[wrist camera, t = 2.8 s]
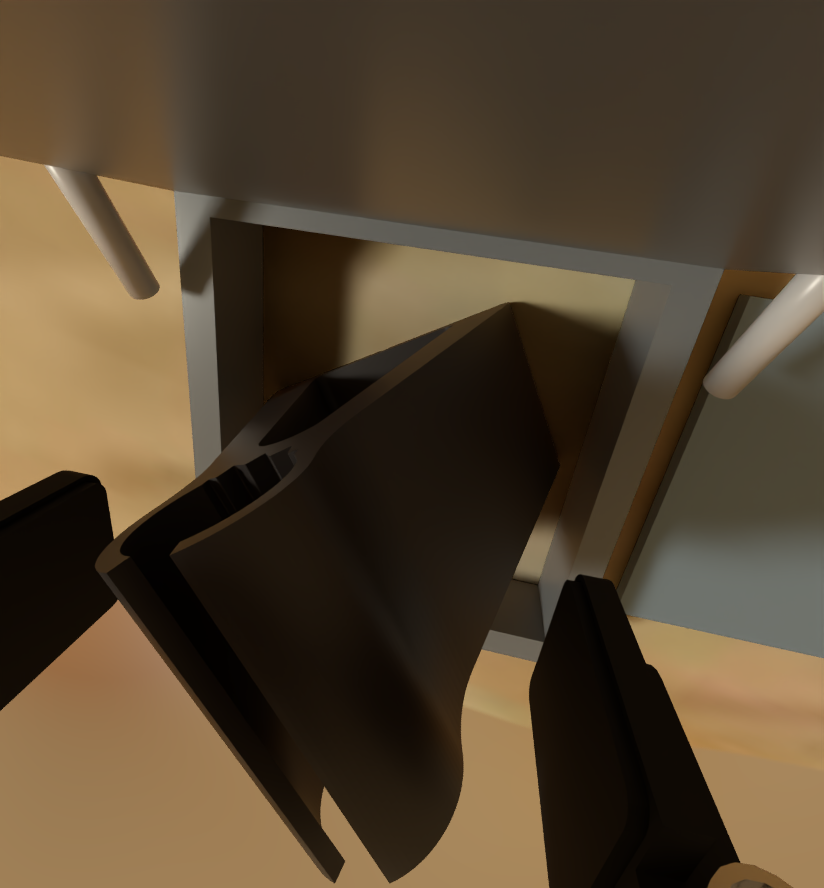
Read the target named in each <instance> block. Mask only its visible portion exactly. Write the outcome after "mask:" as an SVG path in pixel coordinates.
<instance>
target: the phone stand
mask: <svg viewBox="0 0 824 888" xmlns="http://www.w3.org/2000/svg"><path fill="white" fill-rule="evenodd" d="M559 468H560V463H559V460H558V456H557V453H556V450H555V447H554V444H553V440H552V437H551V434H550V431H549V428H548V424H547V421H546V418H545V415H544V412H543V408H542V405H541V402H540V399H539V396H538V392H537V389H536V386H535V383H534V380H533V376H532V373H531V370H530V367H529V364H528V360H527V357H526V354H525V351H524V348H523V344H522V341H521V338H520V335H519V332H518V328H517V325H516V322H515V319H514V316H513V312H512V309H511V306H510V303H509V302H507V303H504V304H501V305H498V306H496V307H493V308H491V309H488V310H485V311H483V312H480V313H478V314H475V315H472V316H470V317H467V318H465V319H462V320H460V321H457V322H454V323H452V324H449V325H447V326H444V327H442V328H439V329H436V330H434V331H431V332H429V333H426V334H424V335H421V336H418V337H416V338H413V339H411V340H408V341H405V342H403V343H400V344H398V345H395V346H393V347H390V348H388V349H386V350H384V351H381V352H377V353H375V354H372V355H369V356H367V357H364V358H362V359H359V360H356V361H354V362H351V363H349V364H346V365H344V366H341V367H338V368H336V369H333V370H331V371H328V372H326V373H323V374H320V375H318V376H315V377H313V378H310V379H308V380H305V381H302V382H300V383H297V384H295V385H292V386H289V387H287V388H284V389H282V390H280V391H278V392H276V393H275V394H274V395H273V396H272V397H271V398H270V399H269V400H268V401H267V402H266V404H265V405H264V406H263V407H262V408H261V409H260V410H259V411H258V413H257V414H256V415H255V416H254V417H253V418H252V419H251V420H250V421H249V423H248V424H247V425H246V426H245V427H244V428H243V429H242V430H241V431H240V433H239V434H238V435H237V436H236V437H235V438H234V439H233V440H232V441H231V443H230V444H229V445H228V446H227V447H226V448H225V449H224V450H223V451H222V453H221V454H220V455H219V456H218V457H217V458H216V459H215V460H214V462H213V463H212V464H211V465H210V466H209V467H208V468H207V469H206V470H205V471H204V472H203V473H202V474H201V475H199V476H198V477H197V478H196V479H195V480H194V481H192V482H191V483H190V484H188V485H187V486H186V487H185V488H183V489H182V490H181V491H179V492H178V493H177V494H175V495H174V496H172V497H171V498H170V499H168V500H167V501H165V502H164V503H162V504H161V505H160V506H158V507H157V508H155V509H154V510H152V511H151V512H149V513H148V514H146V515H145V516H143V517H142V518H141V519H139V520H138V521H136V522H135V523H134V524H132V525H131V526H130V527H128V528H127V529H126V530H125V531H123V532H122V533H121V534H120V535H119V536H118V537H116V538H115V539H114V540H113V541H112V542H111V543H110V544H109V545H108V546H107V547H106V548H105V549H104V550H103V552H102V553H101V554H100V555H99V557H98V559H97V561H96V563H95V568H96V570H97V571H98V573H99V574H100V575H101V577H102V578H103V580H104V581H105V582H106V584H107V585H108V586H109V588H110V589H111V590H112V592H113V593H114V594H115V596H116V597H117V598H118V600H119V601H120V602H121V604H122V605H123V606H124V608H125V609H126V610H127V612H128V613H129V615H130V616H131V617H132V619H133V620H134V621H135V623H136V624H137V625H138V627H139V628H140V629H141V631H142V632H143V633H144V634H145V636H146V637H147V639H148V640H149V641H150V643H151V644H152V645H153V647H154V648H155V649H156V651H157V652H158V653H159V655H160V656H161V658H162V659H163V660H164V662H165V663H166V664H167V666H168V667H169V668H170V670H171V671H172V672H173V674H174V675H175V676H176V678H177V679H178V680H179V682H180V683H181V684H182V686H183V687H184V689H185V690H186V691H187V693H188V694H189V695H190V697H191V698H192V699H193V701H194V702H195V703H196V705H197V706H198V707H199V709H200V710H201V711H202V713H203V714H204V715H205V717H206V718H207V720H208V721H209V722H210V724H211V725H212V726H213V728H214V729H215V730H216V732H217V733H218V734H219V736H220V737H221V738H222V740H223V741H224V742H225V744H226V745H227V746H228V748H229V749H230V750H231V752H232V753H233V755H234V756H235V757H236V759H237V760H238V761H239V763H240V764H241V765H242V767H243V768H244V769H245V771H246V772H247V773H248V775H249V776H250V777H251V778H252V780H253V781H254V783H255V784H256V785H257V787H258V788H259V789H260V791H261V792H262V794H263V795H264V796H265V798H266V799H267V800H268V802H269V803H270V804H271V805H272V807H273V808H274V810H275V811H276V812H277V814H278V815H279V816H280V818H281V819H282V820H283V822H284V823H285V824H286V826H287V827H288V828H289V830H290V831H291V832H292V834H293V835H294V837H295V838H296V839H297V841H298V842H299V843H300V845H301V846H302V847H303V849H304V850H305V851H306V853H307V854H308V855H309V857H310V858H311V859H312V861H313V862H314V864H315V865H316V866H317V868H318V869H319V870H320V871H321V873H322V874H323V875H324V876H325V877H326V878H328V879H329V880H330V881H332V882H333V883H335V882H336V880H337V878H338V876H339V873H340V871H341V869H342V867H343V865H344V863H345V860H344V859H343V857H342V856H341V854H340V853H339V852H338V850H337V849H336V847H335V846H334V844H333V843H332V842H331V840H330V839H329V837H328V836H327V835H326V833H325V832H324V830H323V829H322V827H321V819H320V806H321V798H322V793H323V789H324V786H325V788H326V789H327V791H328V792H329V794H330V795H331V797H332V798H333V800H334V801H335V803H336V804H337V806H338V807H339V809H340V810H341V812H342V813H343V815H344V816H345V818H346V819H347V821H348V822H349V824H350V825H351V827H352V828H353V830H354V831H355V833H356V834H357V836H358V837H359V839H360V840H361V841H362V843H363V845H364V846H365V848H366V849H367V851H368V852H369V854H370V855H371V856H372V858H373V859H374V861H375V862H376V864H377V865H378V867H379V868H380V870H381V871H382V873H383V874H384V876H385V877H386V879H387V880H388V882H389V883H391V882H393V881H396V880H398V879H399V878H401V877H403V876H404V875H406V874H407V873H408V872H410V871H411V870H412V869H414V868H415V867H416V866H417V865H418V864H419V863H420V862H421V861H422V860H424V859H425V857H426V856H427V855H428V854H429V853H430V852H431V851H432V849H433V848H434V847H435V846H436V844H437V843H438V841H439V840H440V838H441V837H442V835H443V834H444V832H445V830H446V829H447V827H448V825H449V823H450V821H451V818H452V816H453V814H454V811H455V809H456V806H457V803H458V800H459V796H460V792H461V787H462V780H463V753H462V744H461V714H462V706H463V700H464V695H465V691H466V687H467V684H468V681H469V678H470V675H471V673H472V670H473V668H474V665H475V663H476V661H477V658H478V656H479V654H480V651H481V649H482V647H483V644H484V642H485V640H486V638H487V635H488V633H489V631H490V628H491V626H492V624H493V621H494V619H495V617H496V614H497V612H498V610H499V607H500V605H501V603H502V600H503V598H504V596H505V593H506V591H507V589H508V586H509V584H510V582H511V579H512V577H513V575H514V572H515V570H516V568H517V565H518V563H519V561H520V558H521V556H522V554H523V551H524V549H525V547H526V544H527V542H528V540H529V537H530V535H531V533H532V530H533V528H534V526H535V523H536V521H537V519H538V516H539V514H540V512H541V510H542V507H543V505H544V503H545V500H546V498H547V496H548V493H549V491H550V489H551V486H552V484H553V482H554V479H555V477H556V475H557V472H558V470H559Z"/></svg>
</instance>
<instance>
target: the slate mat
mask: <svg viewBox="0 0 824 888" xmlns="http://www.w3.org/2000/svg"><path fill="white" fill-rule="evenodd" d="M773 300H774V299H767V298H760V297H754V296H747V295H740V296H739V298H738V300H737V303H736V305H735V308H734V310H733V312H732V315H731V317H730V320H729V322H728V324H727V327H726V329H725V332H724V334H723V336H722V339H721V341H720V344H719V346H718V348H717V351H716V353H715V356H714V358H713V360H712V363H711V365H710V368H709V370H708V372H707V374H708V373H709V372H710V370H711V369H712V368H713V367H714V366H715V365H716V364H717V363H718V361H719V360H720V359H721V358H722V357H723V356H724V355H725V354H726V352H727V351H728V350H729V349H730V348H731V347H732V346H733V345H734V343H735V342H736V341H737V340H738V339H739V338H740V337H741V336H742V334H743V333H744V332H745V331H746V330H747V329H748V328H749V327H750V325H751V324H752V323H753V322H754V321H755V320H756V319H757V318H758V316H759V315H760V314H761V313H762V312H763V311H764V310H765V309H766V307H767V306H768V305H769V304H770V303H771V302H772V301H773ZM617 594H618V596H619V598H620V601H621V603H622V606H623V608H624V611H625V613H626V615H630V616H635V617H639V618H644V619H649V620H653V621H658V622H662V623H667V624H671V625H676V626H680V627H685V628H689V629H694V630H698V631H703V632H707V633H712V634H716V635H721V636H726V637H730V638H735V639H739V640H744V641H748V642H753V643H757V644H762V645H766V646H771V647H775V648H780V649H784V650H789V651H794V652H798V653H803V654H807V655H812V656H816V657H821V658H824V312H823V313H822V314H821V315H820V316H819V317H818V318H817V319H816V320H814V321H813V322H812V323H811V324H810V325H809V326H808V327H807V328H806V329H805V330H804V331H803V332H802V333H801V334H800V335H799V336H798V337H797V338H796V339H795V340H794V341H793V342H792V343H791V344H789V345H788V346H787V347H786V348H785V349H784V350H783V351H782V352H781V353H780V354H779V355H778V356H777V357H776V358H775V359H774V360H773V361H772V362H771V363H770V364H769V365H768V366H767V367H766V368H764V369H763V370H762V371H761V372H760V373H759V374H758V375H757V376H756V377H755V378H754V379H753V380H752V381H751V382H750V383H749V384H748V385H747V386H746V387H745V388H744V389H743V390H742V391H741V392H739V393H738V394H737V395H736V396H735V397H734V398H732V399H721V398H718V397H715V396H713V395H712V394H710V393H709V392H708V391H707V390H706V389H705V387H704V385H703V384H702V387H701V389H700V392H699V394H698V396H697V399H696V401H695V404H694V406H693V408H692V411H691V413H690V416H689V418H688V420H687V423H686V425H685V428H684V430H683V432H682V435H681V437H680V440H679V442H678V444H677V447H676V449H675V452H674V454H673V456H672V459H671V461H670V464H669V466H668V468H667V471H666V473H665V475H664V478H663V480H662V483H661V485H660V487H659V490H658V492H657V495H656V497H655V499H654V502H653V504H652V507H651V509H650V511H649V514H648V516H647V519H646V521H645V523H644V526H643V528H642V531H641V533H640V535H639V538H638V540H637V543H636V545H635V547H634V550H633V552H632V555H631V557H630V559H629V562H628V564H627V567H626V569H625V571H624V574H623V576H622V579H621V581H620V583H619V586H618V588H617Z"/></svg>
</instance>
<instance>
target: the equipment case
mask: <svg viewBox="0 0 824 888" xmlns="http://www.w3.org/2000/svg"><path fill="white" fill-rule="evenodd" d="M0 156H4V157H9V158H14V159H19V160H24V161H29V162H34V163H38V164H43V165H44V166H45V167H46V169H47V170H48V172H49V173H50V175H51V176H52V178H53V179H54V181H55V182H56V184H57V185H58V187H59V188H60V190H61V191H62V193H63V194H64V196H65V197H66V199H67V201H68V202H69V204H70V205H71V207H72V208H73V210H74V211H75V213H76V214H77V216H78V217H79V219H80V220H81V222H82V223H83V225H84V226H85V228H86V229H87V231H88V232H89V234H90V235H91V237H92V239H93V240H94V242H95V243H96V245H97V246H98V248H99V249H100V251H101V252H102V254H103V255H104V257H105V258H106V260H107V261H108V263H109V264H110V266H111V267H112V269H113V270H114V272H115V273H116V275H117V277H118V278H119V280H120V281H121V283H122V284H123V286H124V287H125V289H126V290H127V292H128V293H129V295H130V296H131V297H132V298H134V299H147V298H150V297H152V296H154V295H155V294H156V293H157V292H158V291H159V288H160V286H159V284H158V282H157V280H156V278H155V277H154V275H153V273H152V271H151V270H150V268H149V266H148V264H147V263H146V261H145V259H144V257H143V256H142V254H141V252H140V250H139V249H138V247H137V245H136V243H135V242H134V240H133V238H132V236H131V235H130V233H129V231H128V230H127V228H126V226H125V224H124V223H123V221H122V219H121V217H120V216H119V214H118V212H117V210H116V209H115V207H114V205H113V203H112V202H111V200H110V198H109V196H108V195H107V193H106V191H105V189H104V188H103V186H102V184H101V182H100V181H99V179H98V177H97V175H98V176H103V177H108V178H113V179H117V180H122V181H127V182H132V183H137V184H142V185H147V186H152V187H157V188H162V189H167V190H172V191H174V197H175V211H176V224H177V237H178V250H179V263H180V277H181V290H182V303H183V316H184V330H185V343H186V356H187V369H188V382H189V396H190V409H191V422H192V435H193V449H194V462H195V475H196V478H197V477H198V476H199V475H201V474H202V473H203V472H204V471H205V470H206V469H207V468H208V467H209V466H210V465H211V464H212V463H213V462H214V460H215V459H216V458H217V457H218V456H219V455H220V454H221V453H222V451H223V450H224V449H225V448H226V447H227V446H228V445H229V444H230V443H231V441H232V440H233V439H234V438H235V437H236V436H237V435H238V434H239V433H240V431H241V430H242V429H243V428H244V427H245V426H246V425H247V424H248V423H249V421H250V420H251V419H252V418H253V417H254V416H255V415H256V414H257V413H258V411H259V410H260V409H261V408H262V407H263V225H268V226H275V227H281V228H288V229H295V230H302V231H308V232H315V233H322V234H329V235H336V236H342V237H349V238H356V239H363V240H369V241H376V242H383V243H390V244H397V245H403V246H410V247H417V248H424V249H430V250H437V251H444V252H451V253H458V254H464V255H471V256H478V257H485V258H491V259H498V260H505V261H512V262H519V263H525V264H532V265H539V266H546V267H552V268H559V269H566V270H573V271H580V272H586V273H593V274H600V275H607V276H613V277H620V278H627V279H634V280H636V281H635V284H634V287H633V290H632V293H631V297H630V300H629V303H628V306H627V309H626V312H625V315H624V318H623V321H622V325H621V328H620V331H619V334H618V337H617V340H616V343H615V346H614V349H613V353H612V356H611V359H610V362H609V365H608V368H607V371H606V374H605V378H604V381H603V384H602V387H601V390H600V393H599V396H598V399H597V402H596V406H595V409H594V412H593V415H592V418H591V421H590V424H589V427H588V431H587V434H586V437H585V440H584V443H583V446H582V449H581V452H580V455H579V459H578V462H577V465H576V468H575V471H574V474H573V477H572V480H571V484H570V487H569V490H568V493H567V496H566V499H565V502H564V505H563V508H562V512H561V515H560V518H559V521H558V524H557V527H556V530H555V533H554V537H553V540H552V543H551V546H550V549H549V552H548V555H547V558H546V561H545V565H544V568H543V571H542V574H541V577H540V580H539V583H538V585H534V584H530V583H525V582H520V581H516V580H511V582H510V584H509V586H508V589H507V591H506V593H505V596H504V598H503V600H502V603H501V605H500V607H499V610H498V612H497V614H496V617H495V619H494V621H493V624H492V626H491V628H490V631H489V633H488V635H487V638H486V640H485V642H484V644H483V647H482V649H483V650H487V651H491V652H495V653H500V654H504V655H508V656H512V657H517V658H521V659H525V660H529V661H534V662H537V660H538V657H539V654H540V651H541V648H542V645H543V643H544V640H545V637H546V634H547V631H548V628H549V625H550V622H551V619H552V616H553V614H554V611H555V608H556V605H557V602H558V599H559V596H560V593H561V590H562V587H563V585H564V582H565V581H566V580H572V581H574V580H575V578H576V576H577V575H579V574H582V575H587V576H592V577H597V578H603V576H604V573H605V570H606V568H607V565H608V563H609V560H610V558H611V555H612V553H613V550H614V548H615V545H616V543H617V540H618V537H619V535H620V532H621V530H622V527H623V525H624V522H625V520H626V517H627V515H628V512H629V510H630V507H631V504H632V502H633V499H634V497H635V494H636V492H637V489H638V487H639V484H640V482H641V479H642V477H643V474H644V471H645V469H646V466H647V464H648V461H649V459H650V456H651V454H652V451H653V449H654V446H655V444H656V441H657V439H658V436H659V433H660V431H661V428H662V426H663V423H664V421H665V418H666V416H667V413H668V411H669V408H670V406H671V403H672V400H673V398H674V395H675V393H676V390H677V388H678V385H679V383H680V380H681V378H682V375H683V373H684V370H685V367H686V365H687V362H688V360H689V357H690V355H691V352H692V350H693V347H694V345H695V342H696V340H697V337H698V334H699V332H700V329H701V327H702V324H703V322H704V319H705V317H706V314H707V312H708V309H709V307H710V304H711V302H712V299H713V296H714V294H715V291H716V289H717V286H718V284H719V281H720V279H721V276H722V274H723V271H724V269H727V270H743V271H760V272H777V273H794V274H796V275H795V276H794V277H793V278H792V279H791V281H790V282H789V283H788V284H787V285H786V286H785V287H784V288H783V289H782V291H781V292H780V293H779V294H778V295H777V296H776V297H775V298H774V300H773V301H772V302H771V303H770V304H769V305H768V306H767V307H766V309H765V310H764V311H763V312H762V313H761V314H760V315H759V316H758V318H757V319H756V320H755V321H754V322H753V323H752V324H751V325H750V327H749V328H748V329H747V330H746V331H745V332H744V333H743V334H742V336H741V337H740V338H739V339H738V340H737V341H736V342H735V343H734V345H733V346H732V347H731V348H730V349H729V350H728V351H727V352H726V354H725V355H724V356H723V357H722V358H721V359H720V360H719V361H718V363H717V364H716V365H715V366H714V367H713V368H712V369H711V370H710V372H709V373H708V374H707V375H706V376H705V377H704V379H703V385H704V387H705V389H706V390H707V391H708V392H709V393H710V394H712V395H713V396H715V397H718V398H721V399H732V398H734V397H735V396H736V395H737V394H738V393H739V392H741V391H742V390H743V389H744V388H745V387H746V386H747V385H748V384H749V383H750V382H751V381H752V380H753V379H754V378H755V377H756V376H757V375H758V374H759V373H760V372H761V371H762V370H763V369H764V368H766V367H767V366H768V365H769V364H770V363H771V362H772V361H773V360H774V359H775V358H776V357H777V356H778V355H779V354H780V353H781V352H782V351H783V350H784V349H785V348H786V347H787V346H788V345H789V344H791V343H792V342H793V341H794V340H795V339H796V338H797V337H798V336H799V335H800V334H801V333H802V332H803V331H804V330H805V329H806V328H807V327H808V326H809V325H810V324H811V323H812V322H813V321H814V320H816V319H817V318H818V317H819V316H820V315H821V314H822V313H823V312H824V0H0Z"/></svg>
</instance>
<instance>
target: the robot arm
mask: <svg viewBox="0 0 824 888" xmlns="http://www.w3.org/2000/svg"><path fill="white" fill-rule="evenodd" d="M113 540H114V537H113V531H112V525H111V518H110V512H109V506H108V499H107V493H106V490H105V488H104V486H103V485H101V482H100V480H99V479H98V478H97V477H95V476H93V475H88V474H83V473H78V472H73V471H64V470H63V471H60V472H57V473H55V474H53V475H51V476H49V477H47V478H45V479H43V480H41V481H39V482H37V483H35V484H33V485H31V486H29V487H27V488H25V489H23V490H21V491H19V492H17V493H15V494H13V495H11V496H9V497H7V498H5V499H3V500H1V501H0V711H1V710H2V709H3V708H4V707H5V706H6V705H7V704H8V703H9V702H10V701H11V700H12V699H14V698H15V697H16V696H17V694H19V693H20V692H21V691H22V690H23V689H24V688H25V687H26V686H27V685H29V683H30V682H32V681H33V680H34V679H35V678H36V677H37V676H38V675H39V674H40V673H41V672H42V671H44V669H46V668H47V667H48V666H49V665H50V664H51V663H52V662H53V661H54V660H55V659H56V658H57V657H58V656H60V655H61V654H62V653H63V652H64V651H65V650H66V649H67V648H68V647H69V646H70V645H71V644H72V643H73V642H75V641H76V640H77V639H78V638H79V637H80V636H81V635H82V634H83V633H84V632H85V631H86V630H87V629H88V628H89V627H91V626H92V625H93V624H94V623H95V622H96V621H97V620H98V619H99V618H100V617H101V616H102V615H103V614H105V613H106V612H107V611H108V610H109V609H110V608H111V607H112V606H113V605H114V604H115V603H116V601H117V600H118V598H117V597H116V596H115V594H114V593H113V592H112V590H111V589H110V588H109V586H108V585H107V584H106V582H105V581H104V580H103V578H102V577H101V575H100V574H99V573H98V571H97V570H96V568H95V563H96V561H97V559H98V557H99V555H100V554H101V553H102V552H103V550H104V549H105V548H106V547H107V546H108V545H109V544H110V543H111V542H112V541H113ZM529 702H530V711H531V720H532V730H533V739H534V748H535V757H536V767H537V777H538V786H539V795H540V804H541V814H542V823H543V833H544V842H545V852H546V860H547V871H548V879H549V888H793V887H791V886H790V885H789V884H787V883H786V882H785V881H783V880H782V879H781V878H779V877H777V876H776V875H774V874H772V873H769V872H768V871H765V870H763V869H761V868H759V867H757V866H755V865H750V864H743V863H740V861H739V859H738V856H737V854H736V851H735V849H734V847H733V844H732V842H731V840H730V837H729V835H728V833H727V830H726V828H725V826H724V823H723V821H722V819H721V817H720V814H719V812H718V809H717V807H716V805H715V802H714V800H713V798H712V795H711V793H710V791H709V789H708V786H707V784H706V781H705V779H704V777H703V774H702V772H701V770H700V767H699V765H698V763H697V760H696V758H695V756H694V753H693V751H692V749H691V746H690V744H689V742H688V739H687V737H686V735H685V732H684V730H683V728H682V725H681V723H680V721H679V718H678V716H677V714H676V711H675V709H674V707H673V704H672V702H671V700H670V697H669V695H668V693H667V690H666V688H665V686H664V683H663V681H662V679H661V677H660V675H659V673H658V671H657V670H656V669H655V668H654V667H653V666H652V665H649V664H646V663H645V660H644V658H643V655H642V653H641V650H640V648H639V645H638V643H637V640H636V638H635V635H634V633H633V631H632V628H631V626H630V623H629V621H628V618H627V616H626V613H625V611H624V608H623V606H622V603H621V601H620V598H619V596H618V594H617V591H616V589H615V586H614V584H613V583H612V581H610V580H607V579H602V578H597V577H592V576H587V575H582V574H579V575H577V576H576V578H575V580H574V581H572V580H566V581H565V582H564V585H563V587H562V590H561V593H560V596H559V599H558V602H557V605H556V608H555V611H554V614H553V616H552V619H551V622H550V625H549V628H548V631H547V634H546V637H545V640H544V643H543V645H542V648H541V651H540V654H539V657H538V660H537V663H536V666H535V669H534V672H533V674H532V677H531V681H530V688H529Z"/></svg>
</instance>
